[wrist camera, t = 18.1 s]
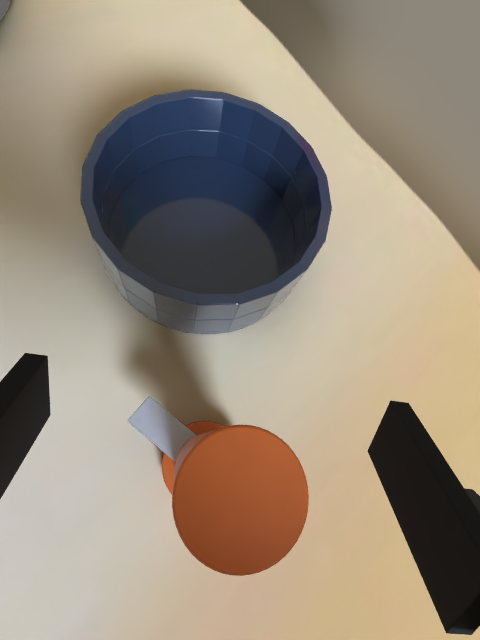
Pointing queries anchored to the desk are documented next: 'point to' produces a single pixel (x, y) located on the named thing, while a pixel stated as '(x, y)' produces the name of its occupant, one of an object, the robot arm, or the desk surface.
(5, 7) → the blender
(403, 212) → the desk surface
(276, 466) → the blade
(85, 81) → the desk surface
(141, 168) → the bowl
